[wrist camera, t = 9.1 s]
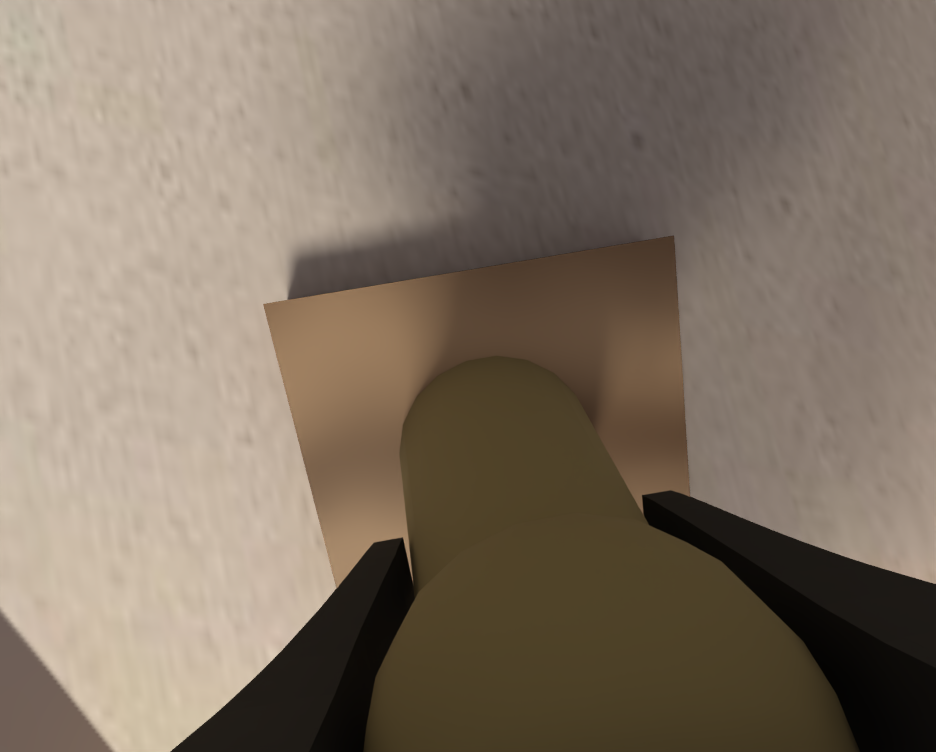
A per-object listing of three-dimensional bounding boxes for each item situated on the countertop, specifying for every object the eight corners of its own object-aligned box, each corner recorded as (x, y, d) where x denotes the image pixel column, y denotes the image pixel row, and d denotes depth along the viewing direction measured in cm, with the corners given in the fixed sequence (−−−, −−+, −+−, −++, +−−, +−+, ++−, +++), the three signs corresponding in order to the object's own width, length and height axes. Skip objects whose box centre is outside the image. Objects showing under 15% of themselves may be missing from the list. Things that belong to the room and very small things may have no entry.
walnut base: (668, 557, 18) (695, 591, 16) (363, 611, 18) (353, 653, 16) (644, 240, 15) (674, 235, 13) (286, 300, 15) (263, 303, 13)
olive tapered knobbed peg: (430, 330, 13) (388, 542, 3) (618, 387, 14) (1194, 739, 3) (377, 511, 14) (192, 1184, 4) (553, 556, 15) (826, 1228, 4)
